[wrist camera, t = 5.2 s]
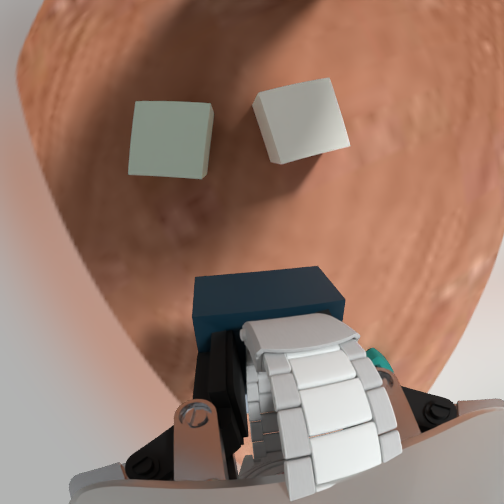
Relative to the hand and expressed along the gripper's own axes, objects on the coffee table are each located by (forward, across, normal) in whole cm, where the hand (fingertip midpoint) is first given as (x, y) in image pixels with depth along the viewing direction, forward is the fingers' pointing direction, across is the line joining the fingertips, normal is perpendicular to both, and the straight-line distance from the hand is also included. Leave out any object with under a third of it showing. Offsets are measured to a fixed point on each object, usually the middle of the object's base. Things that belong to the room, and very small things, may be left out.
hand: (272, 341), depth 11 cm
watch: (+3, 0, 0) cm, 3 cm away
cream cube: (+15, -4, -9) cm, 17 cm away
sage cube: (+14, +4, -9) cm, 17 cm away
